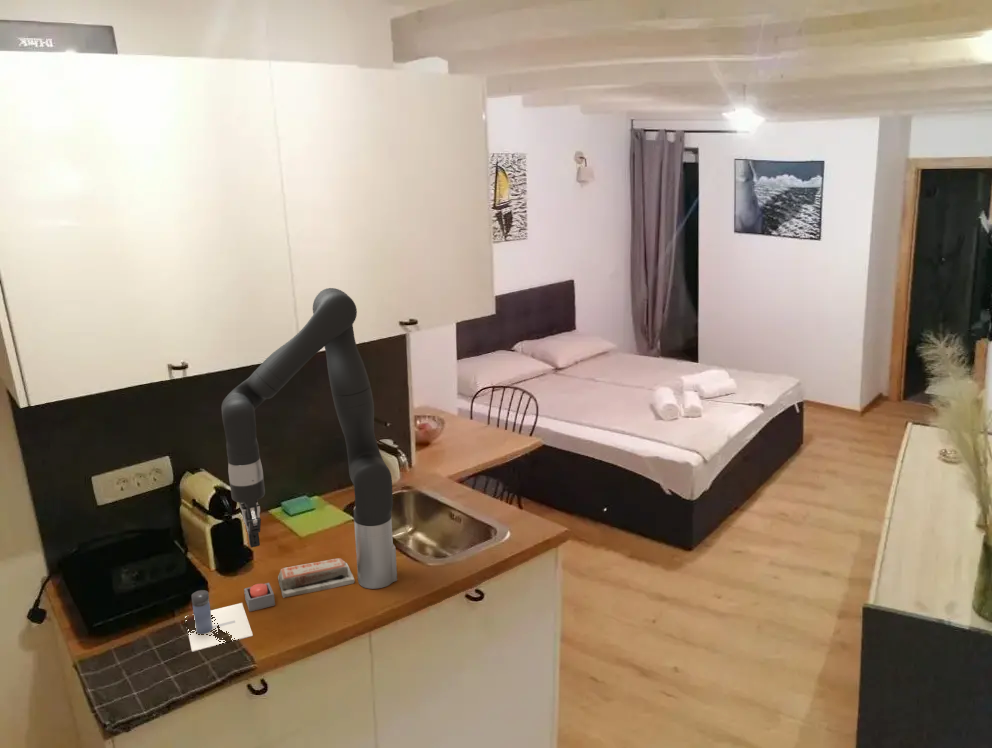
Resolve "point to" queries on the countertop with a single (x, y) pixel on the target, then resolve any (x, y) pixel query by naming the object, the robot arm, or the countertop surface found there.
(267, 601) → the button base
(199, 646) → the drawing pad
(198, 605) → the marker
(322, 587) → the packaged product
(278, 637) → the countertop surface
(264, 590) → the button
